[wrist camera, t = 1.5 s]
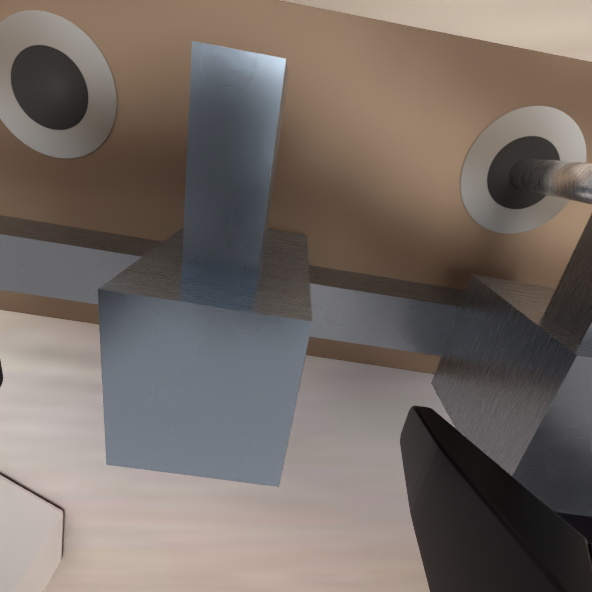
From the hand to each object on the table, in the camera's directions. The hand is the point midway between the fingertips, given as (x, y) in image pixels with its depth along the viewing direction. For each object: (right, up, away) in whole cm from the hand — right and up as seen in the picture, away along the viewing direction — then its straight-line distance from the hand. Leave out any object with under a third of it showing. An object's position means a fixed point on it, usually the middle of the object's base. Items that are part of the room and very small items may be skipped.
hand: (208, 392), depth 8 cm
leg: (0, +5, +5) cm, 7 cm away
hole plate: (+2, +6, +6) cm, 9 cm away
